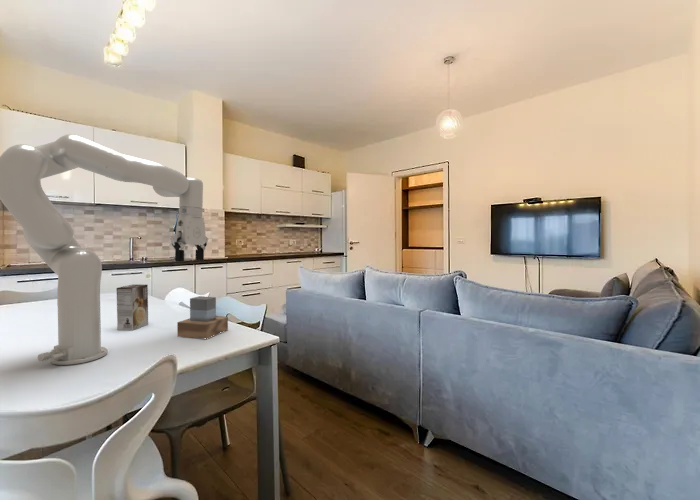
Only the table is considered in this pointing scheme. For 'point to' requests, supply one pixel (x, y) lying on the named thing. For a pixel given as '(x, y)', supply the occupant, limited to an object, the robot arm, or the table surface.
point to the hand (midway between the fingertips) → (189, 260)
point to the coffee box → (132, 307)
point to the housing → (202, 308)
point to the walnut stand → (202, 327)
